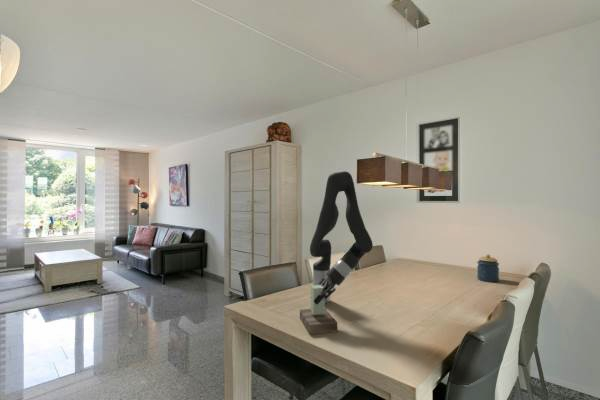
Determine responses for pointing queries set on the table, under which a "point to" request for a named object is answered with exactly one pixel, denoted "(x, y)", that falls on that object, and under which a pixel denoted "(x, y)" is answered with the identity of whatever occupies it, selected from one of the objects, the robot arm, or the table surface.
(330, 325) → the walnut base
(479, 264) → the canister
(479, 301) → the table surface
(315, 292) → the sage block
